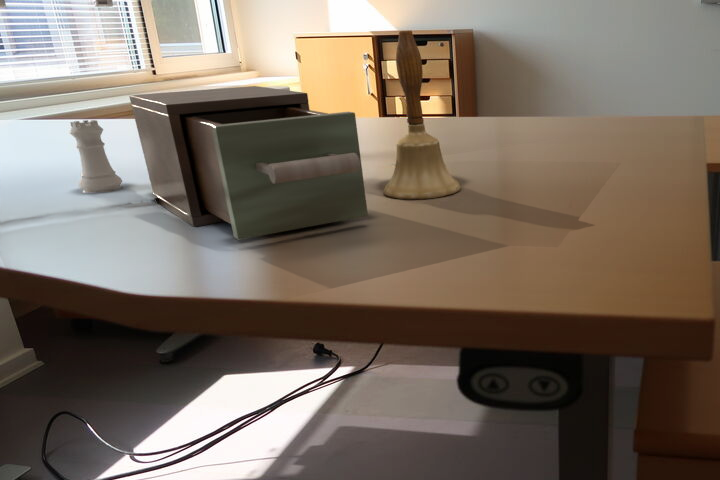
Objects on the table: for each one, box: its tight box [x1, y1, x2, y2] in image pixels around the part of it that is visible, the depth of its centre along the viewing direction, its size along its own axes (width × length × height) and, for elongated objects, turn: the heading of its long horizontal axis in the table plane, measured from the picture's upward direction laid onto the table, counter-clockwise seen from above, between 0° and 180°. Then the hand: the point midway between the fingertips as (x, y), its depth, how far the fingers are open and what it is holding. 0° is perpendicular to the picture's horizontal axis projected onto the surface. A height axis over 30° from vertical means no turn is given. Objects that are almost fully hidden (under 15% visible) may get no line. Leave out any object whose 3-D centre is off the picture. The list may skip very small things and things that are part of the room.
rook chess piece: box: [68, 119, 123, 194], centre depth 81 cm, size 4×4×8 cm
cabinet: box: [128, 85, 311, 228], centre depth 75 cm, size 15×13×11 cm
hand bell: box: [383, 30, 461, 200], centre depth 77 cm, size 8×8×16 cm
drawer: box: [180, 106, 369, 241], centre depth 65 cm, size 18×12×9 cm, turn 38°
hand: (52, 7), depth 75 cm, fingers open, 8 cm apart
